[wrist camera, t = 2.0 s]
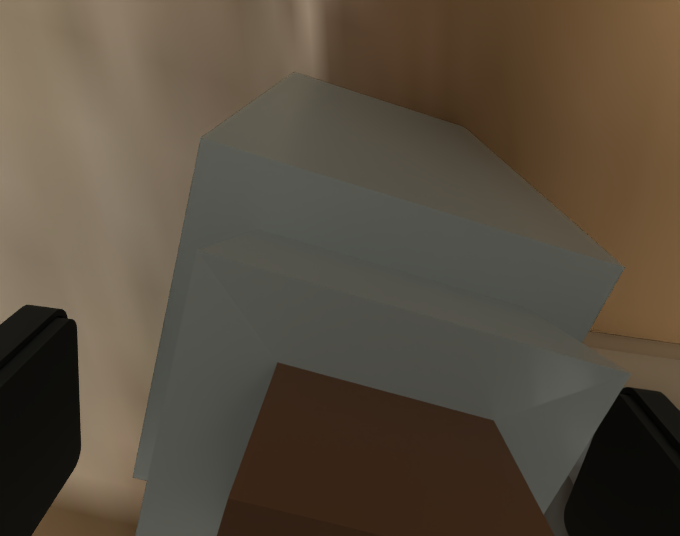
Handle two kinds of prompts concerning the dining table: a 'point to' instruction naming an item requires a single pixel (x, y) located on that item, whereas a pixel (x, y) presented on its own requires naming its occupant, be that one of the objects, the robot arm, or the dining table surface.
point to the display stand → (646, 373)
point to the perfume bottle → (369, 332)
